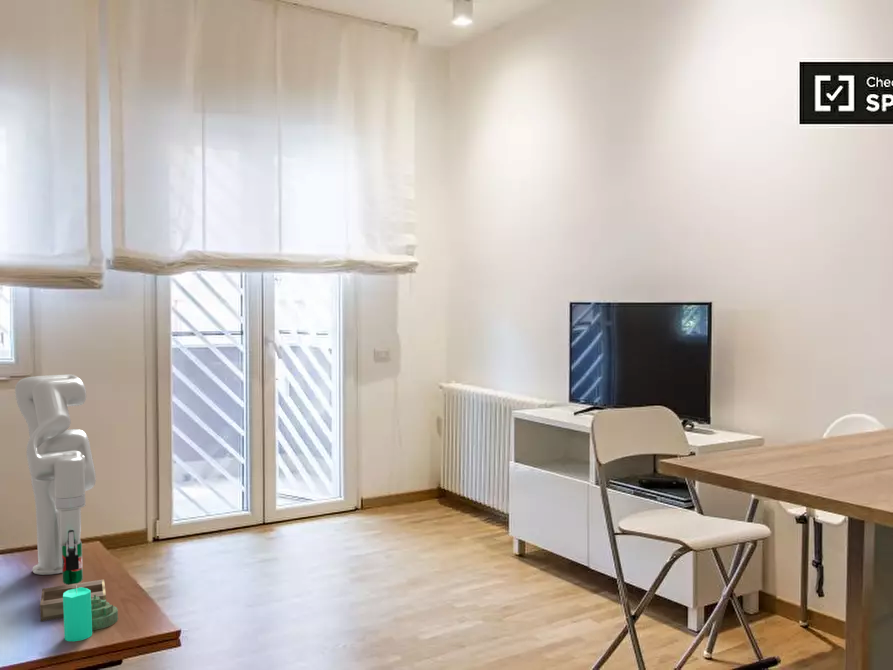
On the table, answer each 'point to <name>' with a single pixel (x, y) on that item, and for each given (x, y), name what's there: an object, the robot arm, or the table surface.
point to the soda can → (72, 575)
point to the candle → (77, 614)
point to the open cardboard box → (54, 598)
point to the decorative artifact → (102, 613)
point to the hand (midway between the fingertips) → (72, 565)
